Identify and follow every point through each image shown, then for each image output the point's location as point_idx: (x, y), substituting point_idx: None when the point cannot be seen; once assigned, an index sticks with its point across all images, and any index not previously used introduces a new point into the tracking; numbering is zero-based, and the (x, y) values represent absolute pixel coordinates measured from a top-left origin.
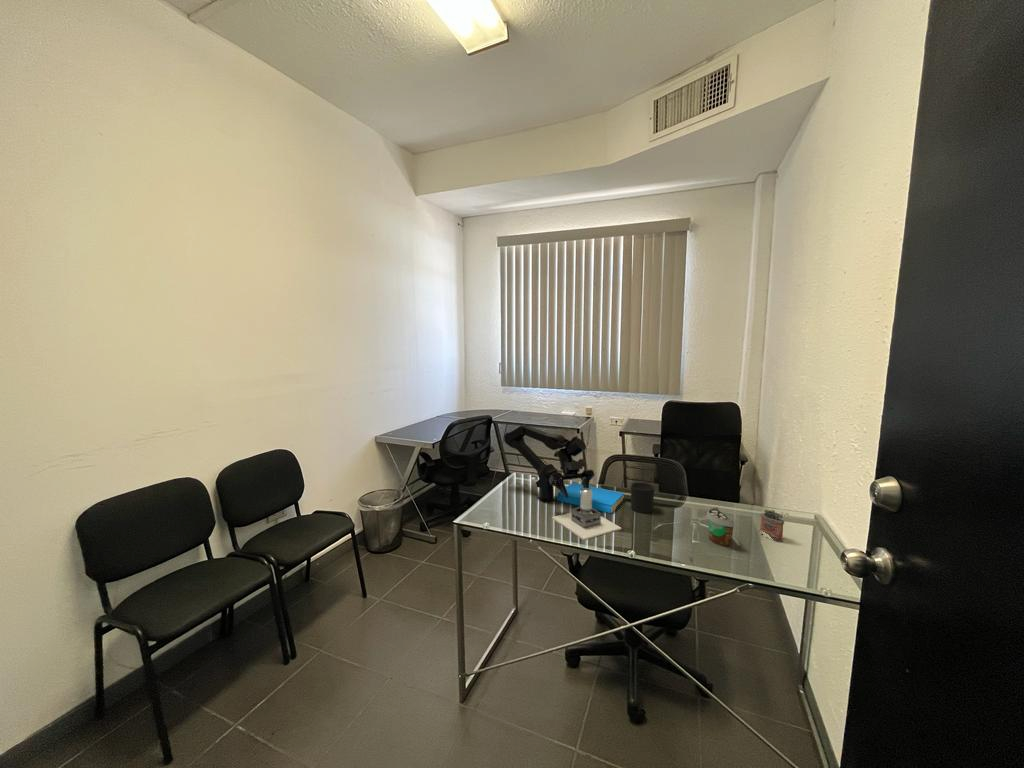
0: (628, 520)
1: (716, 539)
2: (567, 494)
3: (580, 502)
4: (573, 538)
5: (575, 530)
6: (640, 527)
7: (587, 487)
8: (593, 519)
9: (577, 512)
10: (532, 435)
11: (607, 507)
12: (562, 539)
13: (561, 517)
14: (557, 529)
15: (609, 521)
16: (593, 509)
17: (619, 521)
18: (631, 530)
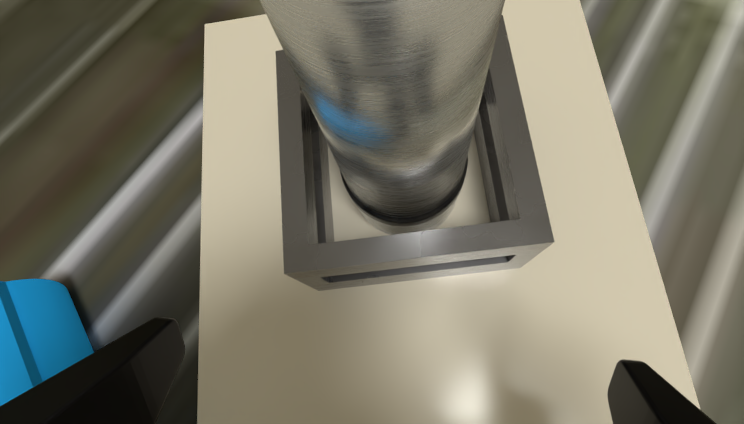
0: (56, 131)
1: None
2: (651, 390)
3: (480, 99)
4: (629, 13)
5: (572, 83)
6: (76, 22)
7: (40, 409)
8: (326, 171)
9: (523, 130)
10: None
11: (42, 313)
12: (727, 22)
13: (595, 369)
14: (714, 179)
15: (207, 135)
16: (293, 144)
17: (126, 139)
18: (161, 4)
